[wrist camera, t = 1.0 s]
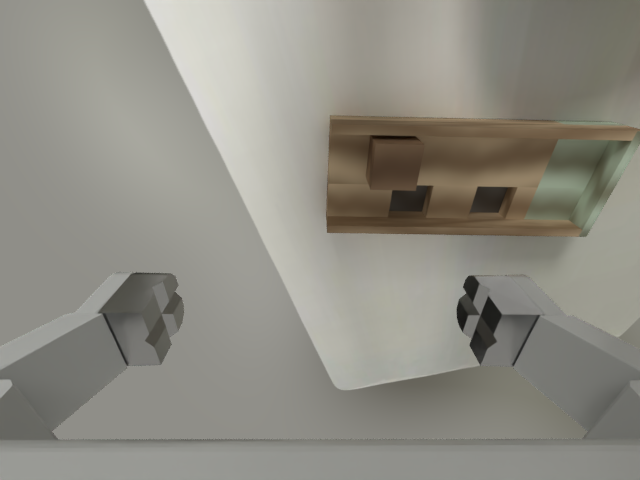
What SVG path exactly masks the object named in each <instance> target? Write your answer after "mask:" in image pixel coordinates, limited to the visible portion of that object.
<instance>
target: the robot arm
mask: <svg viewBox="0 0 640 480" xmlns="http://www.w3.org/2000/svg"><path fill="white" fill-rule="evenodd" d="M177 287H178V282H177V279H176V276H175V275H173V274H171V273H137V272H136V273H133V272H132V273H130V272H117V273H114V274H111V275H110V277H109V278H108V279H107V280H106V281H105V282H104V283H103V284H102V285H101V286H100V287H99V288H98V289H97V290H96V291H95V292H94V293H93V294H92V295H91V296H90V297H89V298H88V299H87V300H86V301H85V302H84V304H83V305H82V306H81V307H80V308H79V309H78V310H77V311H76V312H75V313H71V314H69V313H68V314H66V315H64V316H61V317H59V318H57V319H55V320H53V321H51V322H49V323H47V324H45V325H43V326H41V327H39V328H37V329H35V330H33V331H31V332H29V333H27V334H25V335H23V336H21V337H19V338H17V339H15V340H13V341H11V342H9V343H7V344H5V345H3V346H0V480H640V349H639V348H637V347H635V346H633V345H631V344H629V343H627V342H625V341H623V340H621V339H619V338H617V337H615V336H613V335H611V334H609V333H607V332H605V331H603V330H601V329H599V328H597V327H595V326H593V325H591V324H589V323H587V322H585V321H583V320H581V319H579V318H577V317H575V316H567V315H566V314H565V313H564V312H563V311H562V310H561V309H560V308H559V307H558V306H557V305H556V304H555V303H554V302H553V301H552V300H551V299H550V298H549V297H548V296H547V295H546V294H545V292H544V291H543V290H542V289H541V288H540V287H539V286H538V285H537V284H536V283H535V282H534V281H533V280H532V279H531V278H530V277H528V276H526V275H505V276H468V277H467V279H466V280H465V283H464V286H463V288H464V290H465V291H466V294H465V295H464V296H462V297H461V298H460V299H459V302H458V305H457V320H458V323H459V326H460V328H461V330H462V332H463V333H464V334H466V335H467V336H469V337H470V338H471V342H470V347H471V349H472V351H473V353H474V355H475V356H476V358H477V360H478V362H479V364H480V366H506V367H507V366H508V367H513V369H514V370H516V371H517V372H518V373H519V374H520V375H521V376H523V377H524V378H525V379H526V380H528V381H529V382H530V383H531V384H532V385H533V386H534V387H536V388H537V389H538V390H539V391H541V392H542V393H543V394H544V395H545V396H546V397H548V398H549V399H550V400H551V401H552V402H554V403H555V404H556V405H557V406H558V407H560V408H561V409H562V410H563V411H564V412H565V413H567V414H568V415H569V416H570V417H571V418H572V419H574V420H575V421H576V422H577V423H578V424H580V425H581V426H582V427H583V428H584V429H585V430H587V431H588V432H587V433H586V434H585V435H584V437H583V438H582V439H168V440H167V439H148V440H147V439H146V440H145V439H144V440H143V439H139V440H138V439H135V440H134V439H126V440H125V439H120V440H119V439H115V440H114V439H111V440H110V439H107V440H105V439H102V440H101V439H97V440H95V439H94V440H93V439H92V440H90V439H88V440H87V439H85V440H84V439H76V440H75V439H71V440H58V438H57V437H56V436H55V435H54V433H53V432H52V431H53V430H54V429H55V428H56V427H58V426H59V425H60V424H61V423H62V422H63V421H65V420H66V419H67V418H68V417H69V416H71V415H72V414H73V413H74V412H75V411H77V410H78V409H79V408H80V407H81V406H82V405H84V404H85V403H86V402H87V401H89V400H90V399H91V398H92V397H93V396H94V395H96V394H97V393H98V392H99V391H100V390H102V389H103V388H104V387H105V386H106V385H107V384H109V383H110V382H111V381H112V380H113V379H115V378H116V377H117V376H118V375H119V374H121V373H122V372H123V371H124V370H125V369H127V366H146V365H161V364H162V362H163V360H164V358H165V356H166V354H167V352H168V350H169V348H170V346H171V345H172V344H171V341H170V338H169V337H171V336H172V335H174V334H175V333H176V332H178V330H179V329H180V326H181V324H182V321H183V316H184V304H183V300H182V298H181V297H180V296H179V295H178V294H177V293H176V292H175V291H176V289H177Z"/></svg>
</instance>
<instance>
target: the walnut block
mask: <svg viewBox="0 0 640 480" xmlns="http://www.w3.org/2000/svg"><path fill="white" fill-rule="evenodd" d="M424 147H425V145H424V144H423V143H422V142H421V141H420V140H419V139H418V138H417V137H416V136H388V135H370V141H369V150H368V160H367V169H366V179H367V182H368V184H369V187H370V190H405V191H416V187H417V182H418V177H419V172H420V167H421V162H422V157H423V152H424Z"/></svg>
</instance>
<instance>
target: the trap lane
mask: <svg viewBox="0 0 640 480" xmlns="http://www.w3.org/2000/svg"><path fill="white" fill-rule="evenodd" d="M370 135H388V136H416V137H417V138H418V139H419V140H420V141H421V142H422V143H423V144H424V145H425V147H424V152H423V157H422V162H421V167H420V172H419V177H418V182H417V187H416V191H405V190H370V187H369V184H368V182H367V179H366V169H367V160H368V150H369V141H370ZM639 144H640V129H637V128H633V127H629V126H626V125H622V124H618V123H614V122H593V121H549V120H505V119H461V118H417V117H372V116H330V132H329V158H328V184H327V210H326V220H327V233H379V234H445V235H510V236H575V237H586V236H587V235H588V233H589V231H590V229H591V228H592V226H593V224H594V222H595V221H596V219H597V217H598V215H599V214H600V212H601V210H602V209H603V207H604V205H605V203H606V202H607V200H608V198H609V196H610V195H611V193H612V191H613V189H614V188H615V186H616V184H617V182H618V181H619V179H620V177H621V175H622V174H623V172H624V170H625V169H626V167H627V165H628V163H629V162H630V160H631V158H632V156H633V155H634V153H635V151H636V149H637V148H638V146H639Z"/></svg>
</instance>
